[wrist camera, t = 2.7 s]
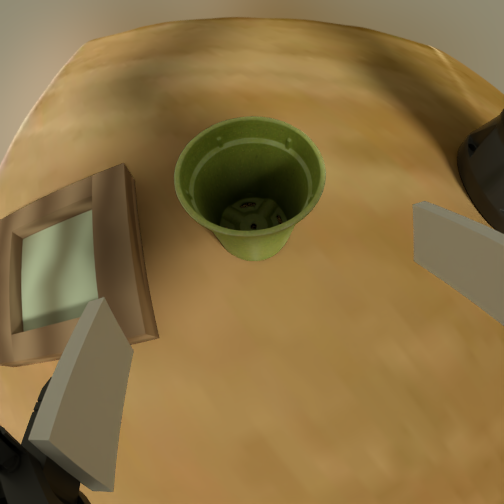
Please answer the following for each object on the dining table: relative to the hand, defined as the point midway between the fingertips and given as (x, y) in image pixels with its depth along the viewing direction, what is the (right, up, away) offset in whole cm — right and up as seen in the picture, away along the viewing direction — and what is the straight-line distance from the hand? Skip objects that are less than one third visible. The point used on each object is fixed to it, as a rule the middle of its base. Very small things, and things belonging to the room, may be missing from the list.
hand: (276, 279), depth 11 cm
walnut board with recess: (-19, -1, +14) cm, 24 cm away
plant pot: (-1, +3, +15) cm, 15 cm away
